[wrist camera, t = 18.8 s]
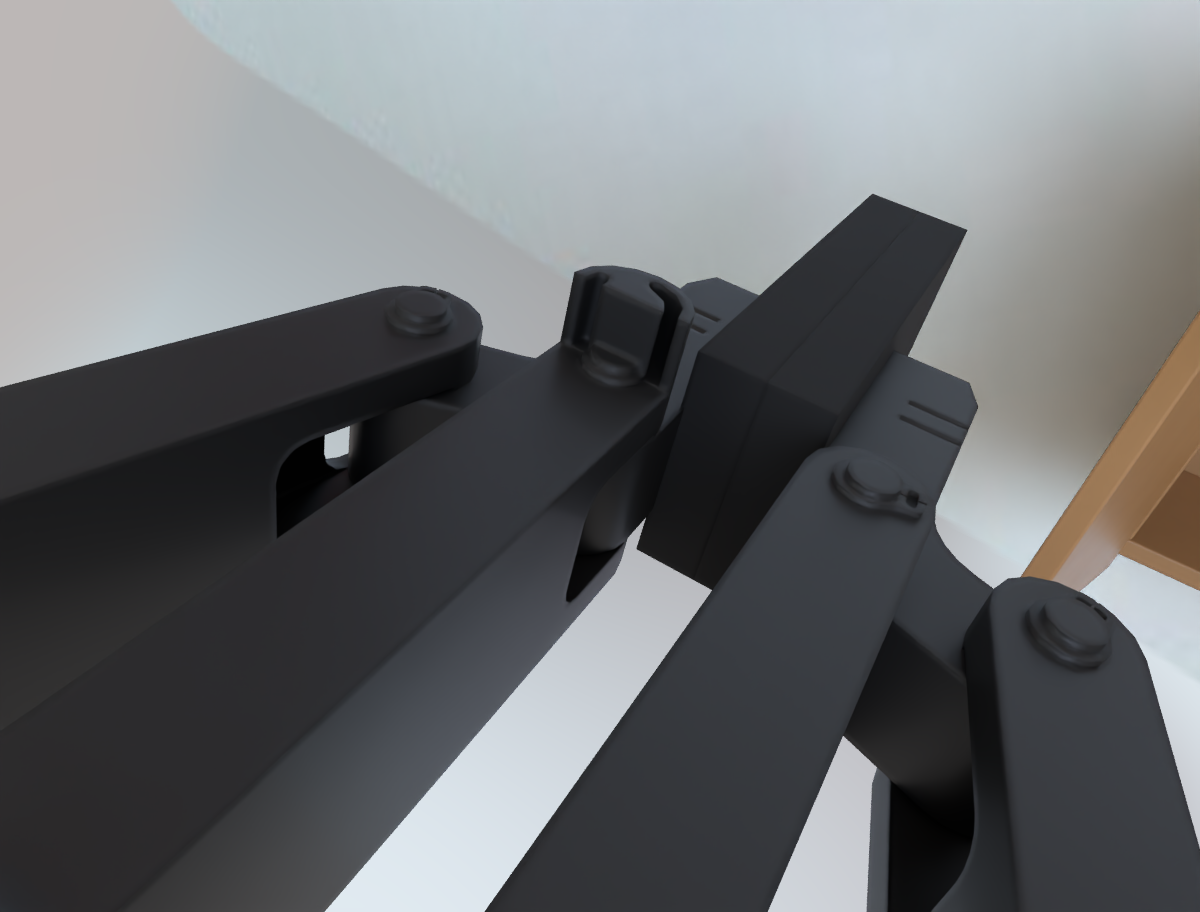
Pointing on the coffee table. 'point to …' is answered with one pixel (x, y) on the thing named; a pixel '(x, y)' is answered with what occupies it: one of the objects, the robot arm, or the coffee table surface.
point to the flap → (1128, 473)
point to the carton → (1172, 529)
